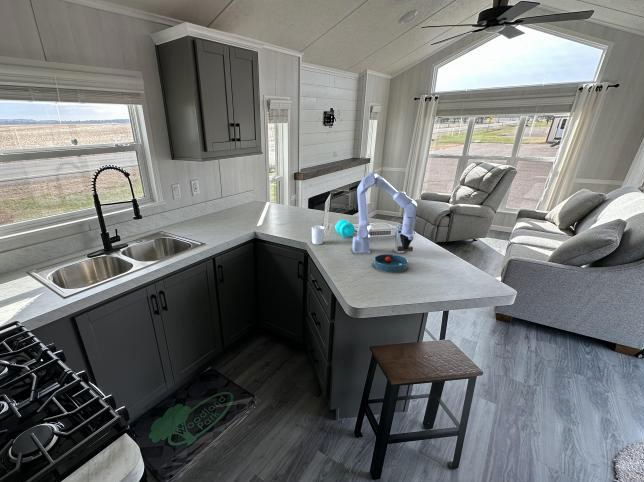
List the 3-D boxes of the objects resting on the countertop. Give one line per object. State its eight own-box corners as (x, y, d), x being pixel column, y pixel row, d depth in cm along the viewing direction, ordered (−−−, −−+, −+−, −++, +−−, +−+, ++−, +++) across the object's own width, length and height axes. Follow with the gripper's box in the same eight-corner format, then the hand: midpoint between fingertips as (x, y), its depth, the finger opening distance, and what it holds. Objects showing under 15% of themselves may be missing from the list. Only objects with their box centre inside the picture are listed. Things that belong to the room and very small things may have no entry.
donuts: (340, 238, 210) (341, 223, 206) (334, 234, 219) (335, 219, 215) (354, 237, 212) (355, 222, 208) (348, 232, 221) (349, 218, 217)
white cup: (310, 241, 208) (310, 226, 204) (322, 240, 209) (323, 225, 205) (312, 245, 201) (313, 229, 197) (325, 244, 202) (326, 229, 198)
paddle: (397, 251, 178) (398, 247, 178) (396, 250, 180) (397, 246, 179) (412, 251, 178) (413, 247, 177) (411, 250, 179) (412, 246, 178)
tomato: (385, 263, 171) (386, 257, 170) (384, 261, 174) (384, 255, 173) (391, 263, 171) (392, 258, 170) (389, 261, 174) (390, 255, 173)
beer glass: (406, 253, 184) (410, 227, 178) (393, 253, 185) (397, 227, 179) (404, 249, 190) (408, 224, 184) (392, 248, 191) (395, 224, 185)
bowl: (377, 273, 162) (378, 266, 160) (370, 260, 176) (371, 254, 175) (410, 273, 160) (412, 266, 159) (401, 260, 175) (402, 254, 174)
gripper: (420, 228, 166) (416, 253, 171) (411, 220, 179) (408, 243, 185) (406, 228, 166) (403, 253, 172) (398, 220, 180) (395, 243, 185)
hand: (405, 248), depth 178 cm, fingers closed on paddle, 2 cm apart
